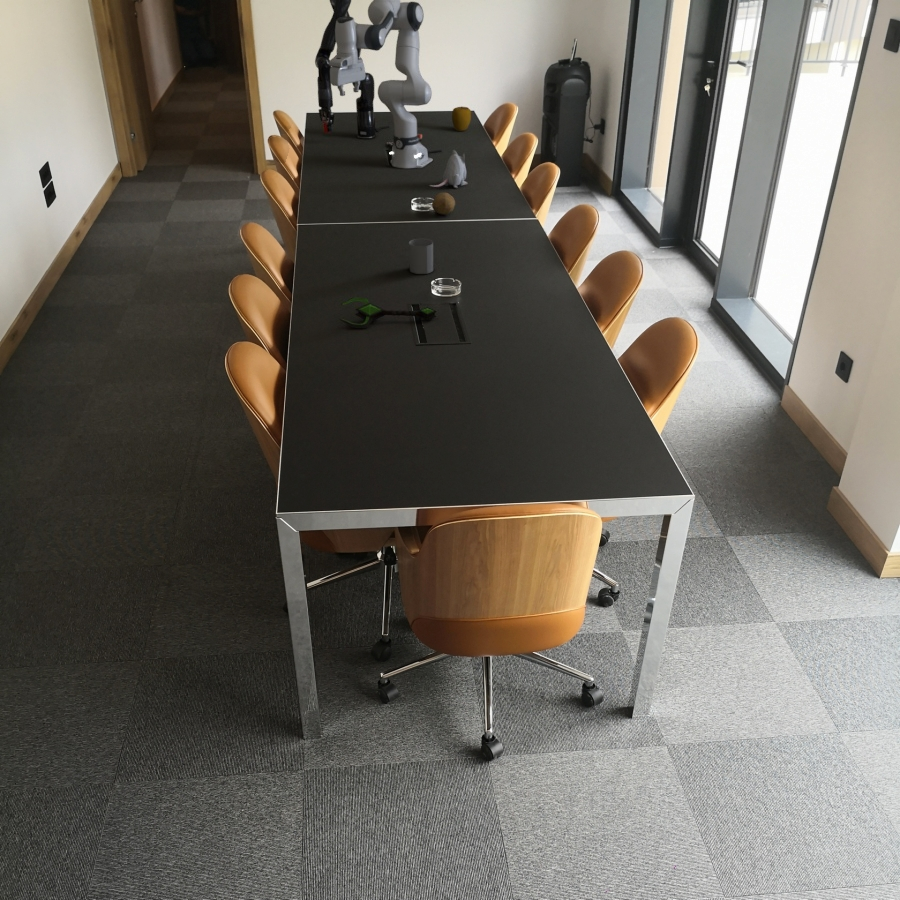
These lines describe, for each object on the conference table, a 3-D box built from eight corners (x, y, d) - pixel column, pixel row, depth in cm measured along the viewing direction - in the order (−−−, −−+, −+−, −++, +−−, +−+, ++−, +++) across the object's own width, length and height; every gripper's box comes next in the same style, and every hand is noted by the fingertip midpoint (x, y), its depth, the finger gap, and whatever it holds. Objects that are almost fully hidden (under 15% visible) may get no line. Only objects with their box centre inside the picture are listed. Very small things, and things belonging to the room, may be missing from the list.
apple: (471, 132, 486) (471, 108, 479) (451, 132, 486) (451, 108, 479) (470, 128, 495) (471, 104, 488) (452, 128, 495) (452, 104, 488)
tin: (322, 132, 462) (321, 123, 460) (325, 130, 466) (324, 122, 463) (329, 133, 461) (329, 124, 459) (332, 131, 465) (332, 122, 462)
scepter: (436, 292, 272) (340, 290, 270) (437, 322, 265) (338, 320, 263) (435, 305, 277) (341, 303, 275) (436, 335, 270) (339, 333, 268)
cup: (409, 265, 311) (408, 238, 306) (432, 265, 312) (431, 238, 307) (410, 274, 304) (409, 246, 299) (433, 273, 305) (433, 246, 299)
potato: (453, 208, 369) (453, 189, 365) (456, 218, 357) (456, 199, 353) (431, 208, 368) (430, 189, 364) (432, 218, 356) (432, 199, 352)
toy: (472, 184, 399) (472, 151, 391) (436, 195, 384) (436, 161, 376) (457, 180, 404) (458, 147, 396) (422, 191, 389) (421, 157, 381)
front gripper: (356, 55, 378) (358, 89, 386) (326, 62, 364) (329, 97, 371) (368, 56, 376) (369, 90, 383) (338, 63, 361) (340, 98, 368)
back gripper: (312, 95, 457) (315, 129, 466) (325, 100, 447) (327, 134, 456) (325, 94, 461) (327, 127, 470) (338, 98, 451) (340, 132, 460)
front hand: (349, 93), depth 377 cm, fingers open, 8 cm apart
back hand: (327, 130), depth 463 cm, fingers closed on tin, 4 cm apart
